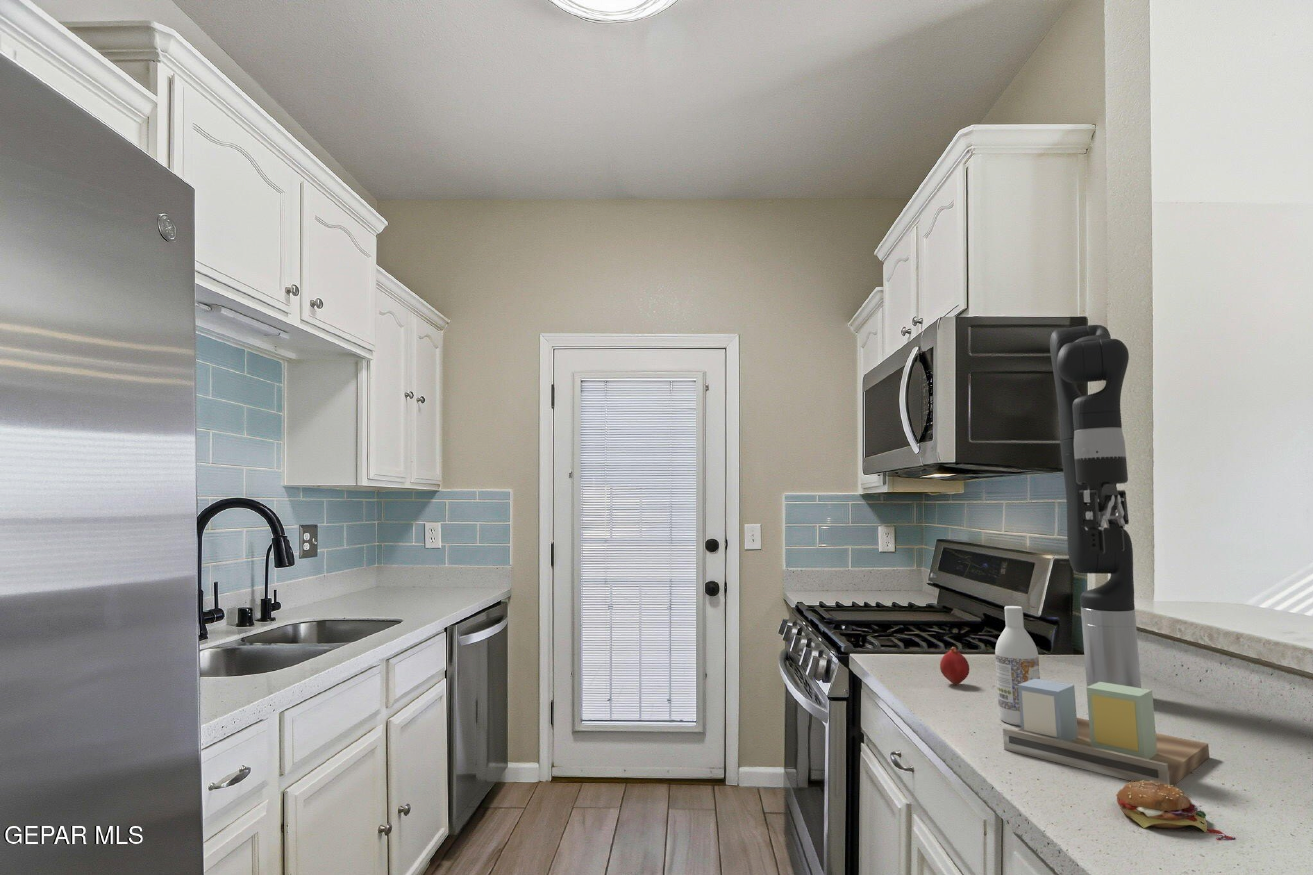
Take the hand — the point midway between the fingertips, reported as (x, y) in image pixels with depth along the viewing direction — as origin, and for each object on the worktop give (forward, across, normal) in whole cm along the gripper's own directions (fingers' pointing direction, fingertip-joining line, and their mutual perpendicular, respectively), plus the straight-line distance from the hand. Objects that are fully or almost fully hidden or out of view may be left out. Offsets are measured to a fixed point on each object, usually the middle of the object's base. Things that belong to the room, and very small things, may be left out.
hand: (1107, 552), depth 122 cm
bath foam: (+30, -3, +15) cm, 34 cm away
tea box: (+28, -14, -5) cm, 32 cm away
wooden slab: (+30, -10, -1) cm, 32 cm away
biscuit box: (+28, -15, +5) cm, 32 cm away
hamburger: (+31, -30, -16) cm, 46 cm away
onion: (+30, +13, +36) cm, 49 cm away
